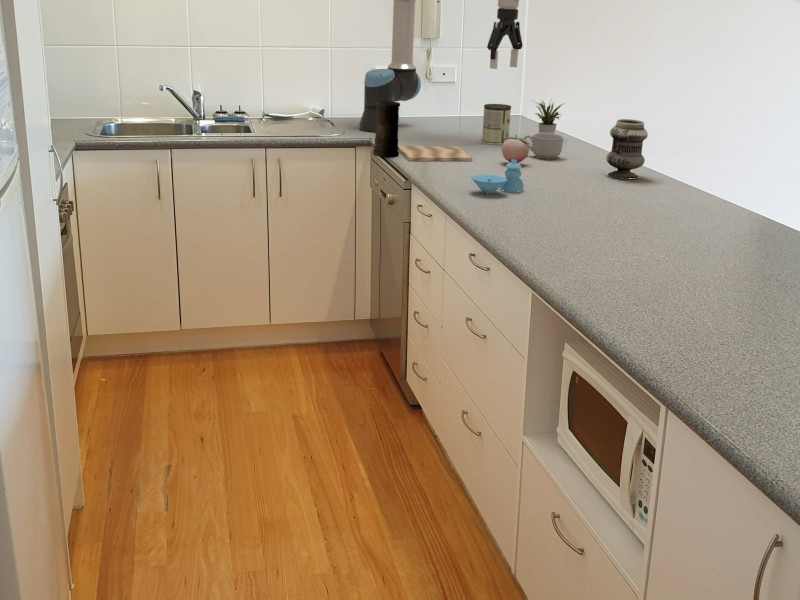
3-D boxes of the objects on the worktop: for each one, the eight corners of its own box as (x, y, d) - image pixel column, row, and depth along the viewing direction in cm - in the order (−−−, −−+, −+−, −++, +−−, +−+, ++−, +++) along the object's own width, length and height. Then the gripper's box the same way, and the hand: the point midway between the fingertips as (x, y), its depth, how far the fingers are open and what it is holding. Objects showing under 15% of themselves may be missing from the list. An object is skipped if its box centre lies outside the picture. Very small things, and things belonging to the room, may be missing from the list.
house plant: (520, 140, 356) (524, 97, 351) (529, 135, 368) (533, 94, 363) (556, 143, 351) (560, 101, 346) (564, 138, 363) (568, 97, 358)
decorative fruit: (497, 165, 305) (499, 135, 302) (503, 161, 313) (505, 132, 309) (524, 168, 302) (527, 138, 299) (530, 164, 310) (532, 134, 306)
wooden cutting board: (408, 161, 306) (409, 157, 305) (397, 149, 326) (397, 146, 326) (472, 161, 310) (472, 157, 310) (456, 149, 330) (456, 146, 330)
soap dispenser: (487, 199, 257) (489, 167, 254) (462, 191, 265) (464, 161, 262) (532, 192, 268) (535, 162, 265) (507, 185, 275) (510, 156, 272)
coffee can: (481, 139, 353) (484, 103, 349) (508, 141, 353) (511, 104, 348) (481, 144, 344) (483, 106, 339) (508, 145, 343) (511, 107, 338)
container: (372, 152, 319) (373, 100, 313) (397, 153, 320) (399, 101, 314) (373, 157, 310) (375, 103, 304) (399, 157, 311) (402, 104, 305)
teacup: (565, 157, 325) (567, 134, 322) (556, 161, 316) (559, 138, 313) (527, 152, 330) (529, 130, 328) (518, 157, 321) (520, 134, 318)
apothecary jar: (621, 181, 287) (628, 124, 281) (596, 174, 297) (603, 118, 291) (650, 179, 293) (657, 123, 287) (625, 172, 303) (632, 117, 297)
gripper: (497, 8, 320) (493, 70, 327) (534, 8, 338) (529, 67, 345) (480, 7, 324) (476, 68, 331) (517, 7, 343) (513, 65, 350)
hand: (503, 67), depth 338 cm, fingers open, 13 cm apart
